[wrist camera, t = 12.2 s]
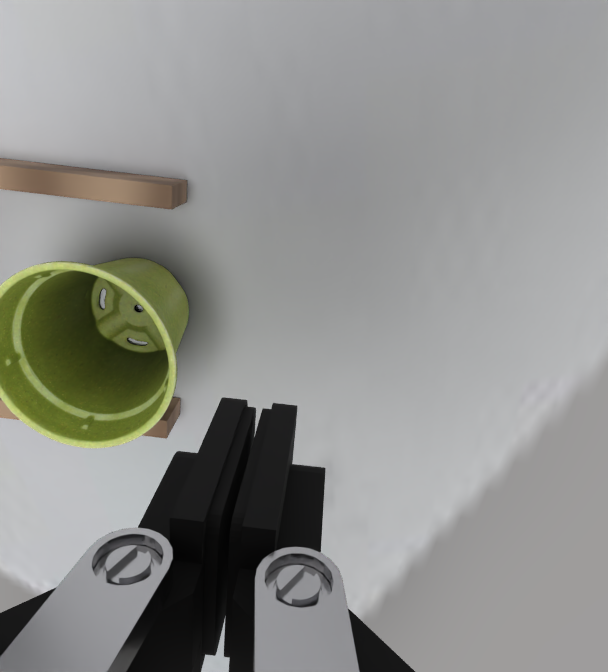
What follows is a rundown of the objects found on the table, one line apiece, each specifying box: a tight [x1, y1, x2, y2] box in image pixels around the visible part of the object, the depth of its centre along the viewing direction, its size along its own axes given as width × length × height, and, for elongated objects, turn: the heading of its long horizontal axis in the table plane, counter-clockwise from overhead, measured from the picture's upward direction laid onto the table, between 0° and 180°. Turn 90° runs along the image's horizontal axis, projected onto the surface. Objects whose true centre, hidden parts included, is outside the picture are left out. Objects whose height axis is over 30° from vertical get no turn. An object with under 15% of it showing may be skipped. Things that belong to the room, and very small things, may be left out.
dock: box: [0, 158, 187, 438], centre depth 33 cm, size 13×15×3 cm
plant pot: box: [0, 258, 189, 448], centre depth 30 cm, size 9×9×9 cm
